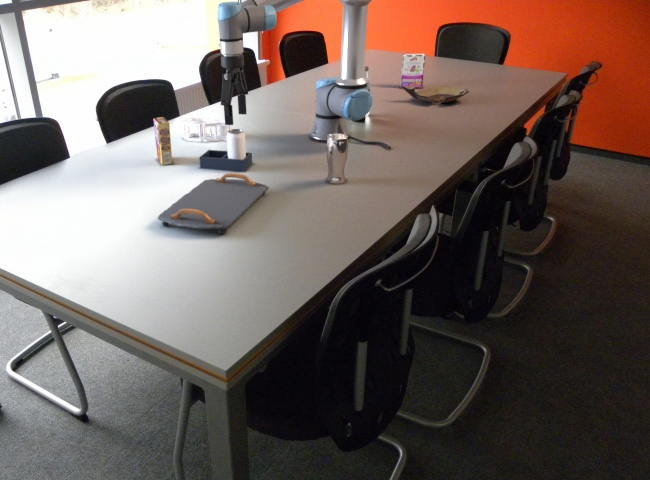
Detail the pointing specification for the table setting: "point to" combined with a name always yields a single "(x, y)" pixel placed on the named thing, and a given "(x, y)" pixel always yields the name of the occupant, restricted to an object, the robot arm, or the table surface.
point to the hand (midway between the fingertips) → (236, 119)
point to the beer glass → (336, 157)
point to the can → (236, 144)
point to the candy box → (163, 140)
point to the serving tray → (214, 203)
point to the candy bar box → (412, 70)
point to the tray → (224, 161)
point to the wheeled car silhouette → (201, 128)
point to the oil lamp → (437, 93)
